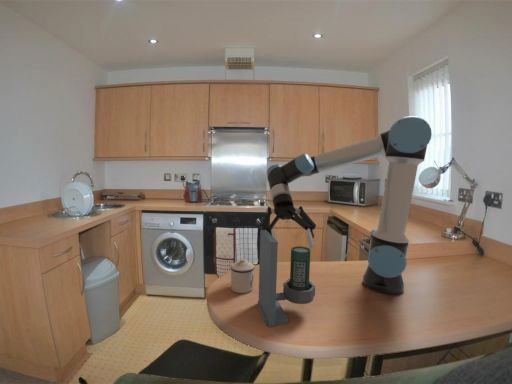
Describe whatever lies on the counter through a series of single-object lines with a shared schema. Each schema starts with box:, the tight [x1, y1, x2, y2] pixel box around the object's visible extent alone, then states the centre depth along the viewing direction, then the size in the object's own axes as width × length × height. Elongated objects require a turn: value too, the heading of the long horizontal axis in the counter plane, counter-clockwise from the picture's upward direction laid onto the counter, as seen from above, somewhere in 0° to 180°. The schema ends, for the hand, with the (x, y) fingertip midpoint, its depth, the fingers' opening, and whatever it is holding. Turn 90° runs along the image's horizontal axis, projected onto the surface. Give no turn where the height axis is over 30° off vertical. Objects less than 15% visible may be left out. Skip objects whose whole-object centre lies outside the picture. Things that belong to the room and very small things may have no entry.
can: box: [289, 245, 312, 291], centre depth 87 cm, size 6×6×15 cm
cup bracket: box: [257, 229, 316, 328], centre depth 86 cm, size 17×14×26 cm
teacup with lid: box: [230, 258, 255, 294], centre depth 104 cm, size 12×9×12 cm
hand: (293, 247), depth 91 cm, fingers open, 13 cm apart
